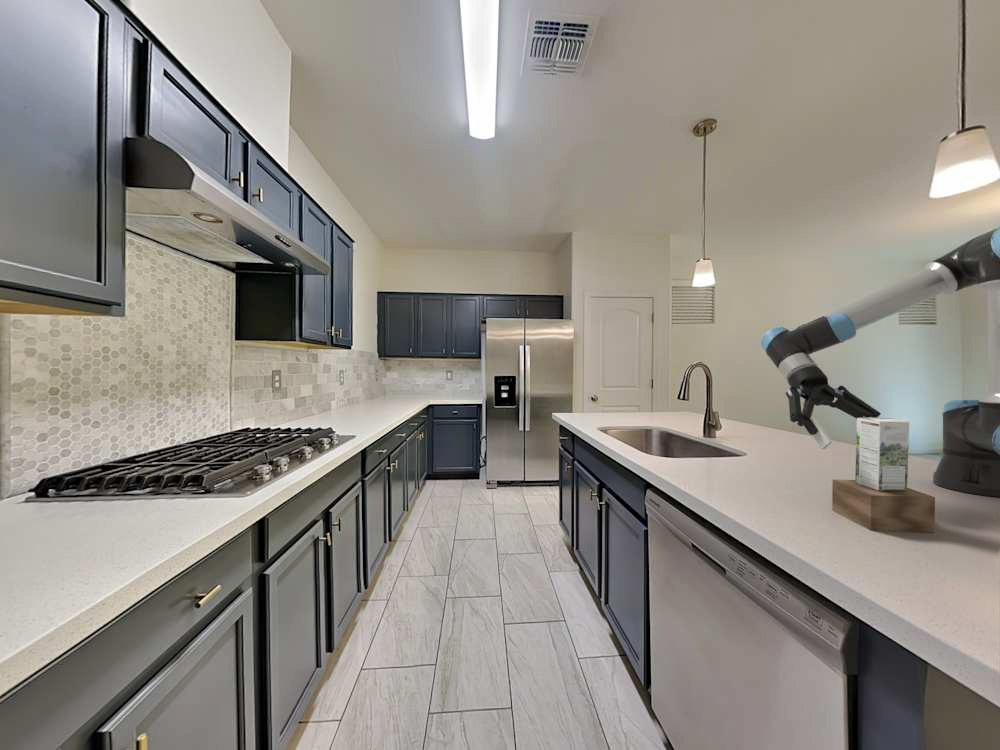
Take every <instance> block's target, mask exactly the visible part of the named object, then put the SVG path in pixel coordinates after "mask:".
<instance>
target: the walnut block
mask: <svg viewBox="0 0 1000 750" xmlns="http://www.w3.org/2000/svg"><path fill="white" fill-rule="evenodd" d="M831 482H832V490H831V492H832V493H831V494H832V496H831V497H832V499H831V500H832V501H831V503H832V505H831V508H832V509H831V511H833V512H835V513H836V514H838V515H840V516H842V517H844V518H846V519H847V520H850V521H852V522H854V523H856V524H858V525H859V524H860V526H861V525H862V526H861V527H863V526H864V527H863V528H865V529H867V530H868V531H872V530H873V531H874V532H877V531H878V532H896V531H900V532H902V533H919V532H921V534H922V533H925V534H935V531H936V530H935V528H936V527H935V524H936V521H935V519H936V518H935V516H936V515H935V513H936V497H935V496H933V495H929V494H927V493H924V492H922V491H918V490H916V489H912V488H909V487H907V491H878V490H875V489H872V488H869V487H866V486H863V485H860V484H857V483H856V482H855V479H832V480H831Z"/></svg>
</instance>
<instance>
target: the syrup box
mask: <svg viewBox="0 0 1000 750" xmlns="http://www.w3.org/2000/svg"><path fill="white" fill-rule="evenodd" d="M909 433H910V422H909V421H907V420H905V419H902V418H901V419H900V418H895V417H877V418H857V419H856V440H855V443H856V445H855V473H854V474H855V478H854V480H855V482H856V483H857V484H860V485H863V486H866V487H869V488H872V489H875V490H878V491H907V488H908V473H909V444H910V443H909V440H910V434H909Z"/></svg>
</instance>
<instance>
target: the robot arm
mask: <svg viewBox="0 0 1000 750" xmlns="http://www.w3.org/2000/svg"><path fill="white" fill-rule="evenodd" d="M975 285H977V286H978V287H979V288H981V289H982V290H984V291H986V292H987V304H988V305H987V314H988V315H987V320H988V321H987V323H988V327H987V330H988V331H987V333H988V334H987V335H988V337H987V338H988V346H987V347H988V393H987V394H986V395H984V396H982V397H981V398H978V399H957V400H949V401H946V402H945V403H944V405H943V411H942V456H941V458H940V460H939V462H938V464H937V466H936V470H935V471H934V472H933V474H932V483H933V484H934V485H937V486H938V487H941V488H945V489H947V490H951V491H956V492H962V493H968V494H973V495H979V496H986V497H987V496H988V497H998V498H1000V226H999V227H997V228H995V229H992V230H990V231H988V232H986V233H983V234H980V235H978V236H976V237H974V238H971V239H970V240H968V241H966V242H964V243H963V244H961V245H960V246H958V247H956V248H954V249H953V250H951V251H949V252H948V253H946V254H944V255H942V256H941V257H939V258H936V259H935V260H932V261H929V262H928V263H927V264H925V266H924V268H923V269H922V270H919V271H918V272H915V273H913V274H910V275H908V276H906V277H904V278H902V279H900V280H898V281H895V282H893V283H891V284H890V285H889V284H888V286H887V285H886V286H885V287H883V288H881V289H878V290H876V291H874V292H872V293H870V294H868V295H866V296H864V297H861V298H859V299H857V300H855V301H853V302H850V303H848V304H846V305H843V306H841V307H839V308H837V309H835V310H834V311H833V310H832V311H831V312H829V313H827V314H824V315H822V316H821V317H817V318H816V319H813V320H811V321H809V322H806V323H805V324H801V325H799V326H797V327H796V328H794V329H792V330H790V329H787V327H784V326H779V327H778V326H777V327H773V328H771V329H768V331H767V330H766V332H765V333H763V335H762V336H761V338H760V345H761V346H762V349H763V350H764V352H765V354H766V355H767V356H768V357H769V359H770V360H771V361H772V363H773V364H774V365H775V366H776V368H777V369H778V371H779V373H780V374H781V375H782V376H783V378H784V379H785V381H786V382H787V384H788V385H789V387H790V388H788V389H787V391H786V392H785V395H786V397H787V399H788V407H789V420H790V421H791V422H792V423H796V425H798V426H799V427H804V428H805V431H807V433H808V434H810V435H811V436H812V437H813V438H814V440H815V441H816V443H817V444H818V445H819V447H820V448H821V450H826V449H827V448H828V447H829V446H831V444H833V442H834V441H833V440H832V438H830V436H829V435H828V433H827V432H826V430H825V429H824V428H823V426H822V425H821V424H820V422H819V421H818V420H817V418H815V417H812V415H813V411H814V408H815V406H817V407H818V406H829V407H830V408H833V409H835V408H836V409H837V410H838V409H839V411H842V412H844V413H845V414H847V415H849V416H851V417H853V418H855V419H856V420H857V418H879V417H880V415H881V414H882V413H881V412H880V411H878V410H877V409H875V408H874V407H873V406H871V405H870V404H868V403H866V401H863V400H862V399H861V398H859V397H858V396H856V395H854V394H853V393H852V392H850V391H849V389H847V388H846V387H845V386H844V385H839V386H838V387H836V388H833V387H832V386H830V384H829V378H828V377H827V375H826V374H825V373H824V371H823V370H822V369H821V368H820V367H819V366H818V364H817V363H816V361H815V360H814V359H813V358H812V357H811V356H810V355H812V354H813V353H816V352H819V351H821V350H824V349H828V348H830V347H833V346H835V345H838V344H843V343H844V342H846V341H849V340H851V339H853V338H855V336H856V335H857V331H858V330H861V329H863V328H865V327H868V326H869V325H872V324H874V323H876V322H878V321H879V322H880V321H881V320H883V319H886V318H888V317H890V316H893V315H895V314H898V313H900V312H902V311H904V310H906V309H909V308H911V307H913V306H915V305H918V304H921V303H923V302H925V301H927V300H930V299H932V298H934V297H937V296H939V295H941V294H945V295H946V294H947V295H949V294H950V295H951V294H953V293H956V292H958V291H961V290H963V289H966V288H968V287H973V286H975ZM801 398H802V399H804V401H803V408H802V406H801V405H802V404H801ZM835 399H836V400H835ZM811 417H812V418H811Z"/></svg>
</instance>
